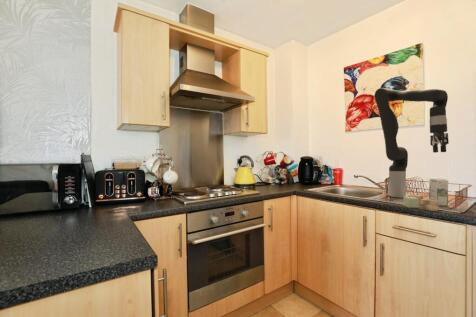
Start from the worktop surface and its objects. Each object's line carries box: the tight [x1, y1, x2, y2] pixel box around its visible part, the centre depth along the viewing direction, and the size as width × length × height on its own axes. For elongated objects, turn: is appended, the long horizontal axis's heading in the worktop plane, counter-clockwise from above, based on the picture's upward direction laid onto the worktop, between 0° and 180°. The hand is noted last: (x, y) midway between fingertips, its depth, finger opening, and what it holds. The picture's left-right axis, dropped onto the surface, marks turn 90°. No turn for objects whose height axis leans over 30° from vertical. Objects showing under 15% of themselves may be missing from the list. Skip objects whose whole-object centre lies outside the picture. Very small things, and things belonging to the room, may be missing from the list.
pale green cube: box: [407, 194, 424, 206], centre depth 129 cm, size 5×5×5 cm
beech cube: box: [420, 198, 440, 212], centre depth 117 cm, size 5×5×5 cm
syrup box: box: [428, 178, 449, 207], centre depth 126 cm, size 6×6×14 cm
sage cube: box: [402, 196, 420, 208], centre depth 124 cm, size 5×5×5 cm
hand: (439, 152), depth 130 cm, fingers open, 8 cm apart
